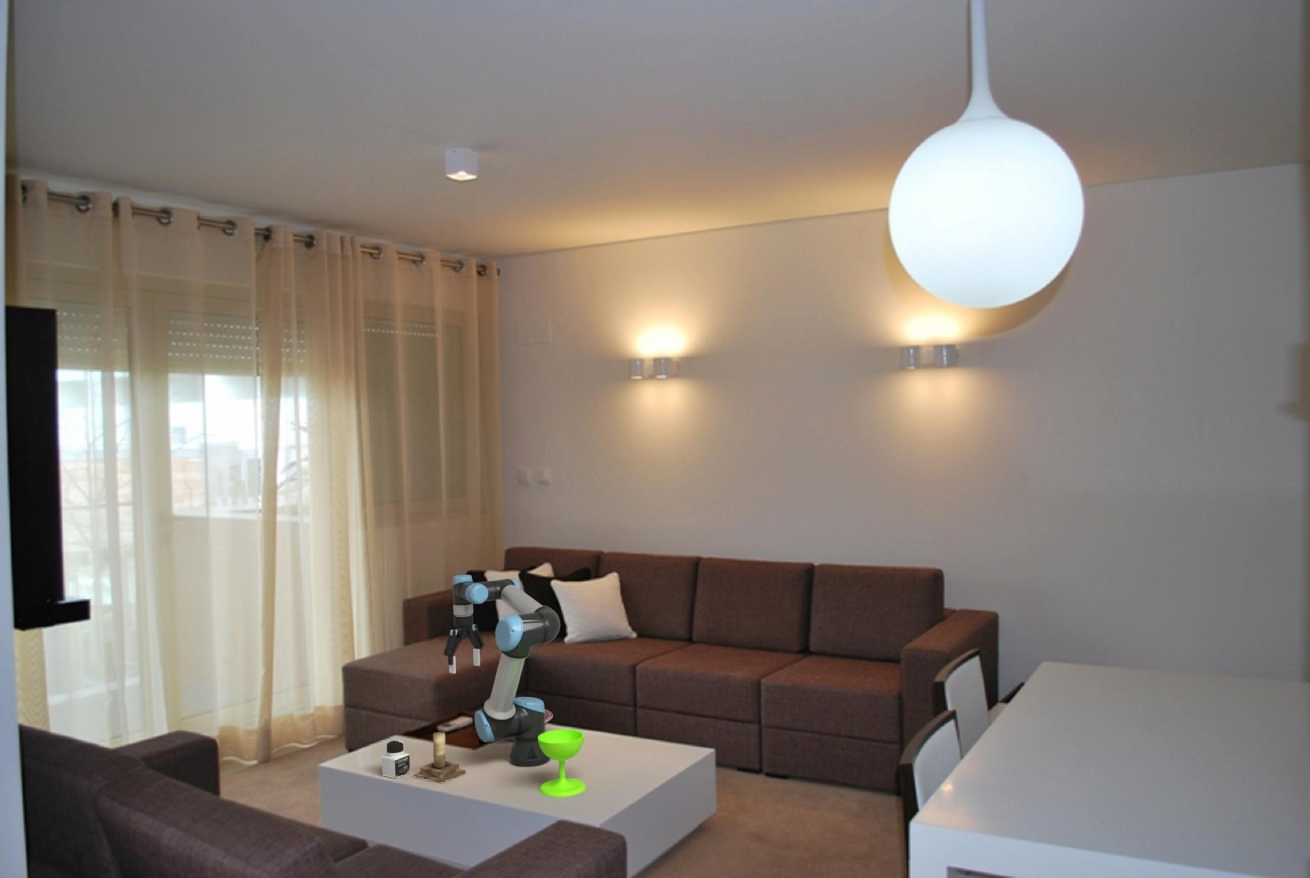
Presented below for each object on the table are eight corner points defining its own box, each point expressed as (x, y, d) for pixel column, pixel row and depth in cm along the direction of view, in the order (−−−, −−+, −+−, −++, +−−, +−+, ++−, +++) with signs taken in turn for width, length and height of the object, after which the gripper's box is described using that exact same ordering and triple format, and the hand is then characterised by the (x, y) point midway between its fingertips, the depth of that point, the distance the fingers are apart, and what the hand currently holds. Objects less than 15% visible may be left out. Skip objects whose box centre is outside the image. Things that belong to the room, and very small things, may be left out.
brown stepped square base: (465, 773, 350) (465, 763, 350) (442, 783, 340) (442, 774, 340) (437, 767, 357) (437, 758, 357) (413, 777, 347) (413, 767, 347)
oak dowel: (448, 771, 349) (447, 733, 349) (440, 775, 346) (439, 736, 346) (439, 769, 352) (438, 731, 352) (431, 773, 348) (430, 734, 348)
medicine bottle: (395, 779, 346) (394, 746, 346) (381, 776, 349) (380, 743, 349) (410, 773, 352) (409, 740, 352) (396, 770, 356) (395, 737, 356)
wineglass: (588, 794, 325) (587, 741, 326) (541, 799, 322) (539, 745, 322) (582, 778, 341) (581, 727, 341) (537, 783, 338) (535, 731, 338)
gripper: (478, 609, 389) (479, 661, 389) (433, 619, 368) (434, 675, 368) (492, 610, 385) (493, 663, 385) (447, 621, 364) (449, 677, 364)
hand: (464, 669), depth 377 cm, fingers open, 13 cm apart
